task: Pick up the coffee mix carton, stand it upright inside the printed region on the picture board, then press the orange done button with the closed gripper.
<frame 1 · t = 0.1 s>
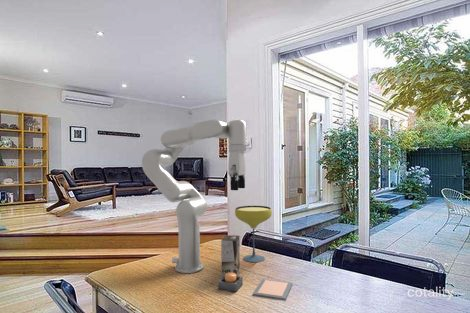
hand: (238, 189, 128), 37 cm above the table, tool pointing down, fingers open, 9 cm apart
done button: (230, 278, 115), point 3 cm above the table, slide at 0.0 cm
picture board: (273, 289, 112), on the table
coffee box: (231, 276, 127), on the table
button housing: (230, 287, 115), on the table
cocktail glass: (253, 259, 148), on the table
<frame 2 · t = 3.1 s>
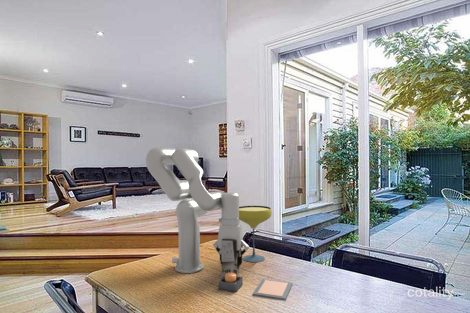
hand: (231, 263, 127), 5 cm above the table, tool pointing down, fingers closed on coffee box, 7 cm apart
coffee box: (231, 276, 127), on the table, touching gripper
everything else where it was.
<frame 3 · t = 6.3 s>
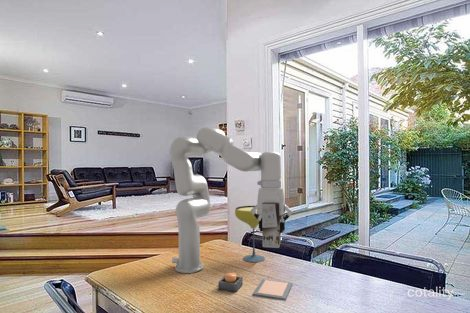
hand: (271, 231, 113), 22 cm above the table, tool pointing down, fingers closed on coffee box, 7 cm apart
coffee box: (272, 245, 113), point 17 cm above the table, touching gripper
everything else where it was.
when the fingers open (7 cm above the table, at t = 9.6 s): coffee box drops 1 cm, resting on picture board.
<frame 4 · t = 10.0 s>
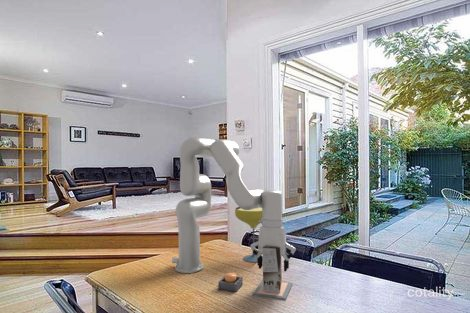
hand: (272, 268, 112), 8 cm above the table, tool pointing down, fingers open, 9 cm apart
coffee box: (272, 288, 112), point 1 cm above the table, touching picture board
everything else where it was.
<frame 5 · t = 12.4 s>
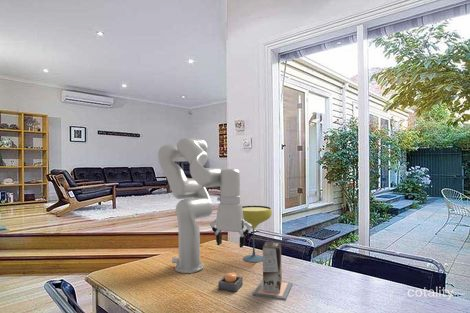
hand: (230, 245, 115), 16 cm above the table, tool pointing down, fingers open, 8 cm apart
nothing on the table moved.
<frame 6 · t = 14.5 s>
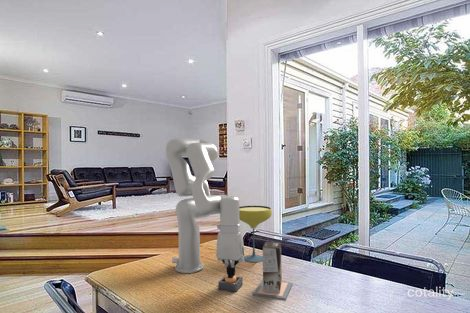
hand: (231, 276, 115), 4 cm above the table, tool pointing down, fingers closed
done button: (230, 280, 115), point 3 cm above the table, slide at 0.7 cm, touching gripper
everything else where it was.
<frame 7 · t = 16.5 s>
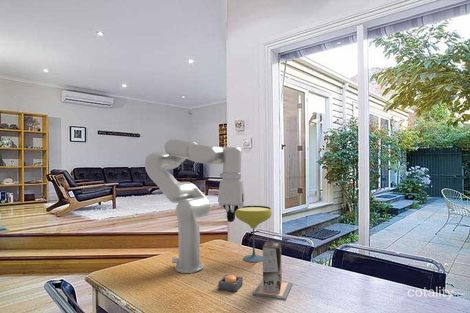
hand: (230, 221, 124), 24 cm above the table, tool pointing down, fingers closed
done button: (230, 281, 115), point 2 cm above the table, slide at 1.0 cm
everything else where it was.
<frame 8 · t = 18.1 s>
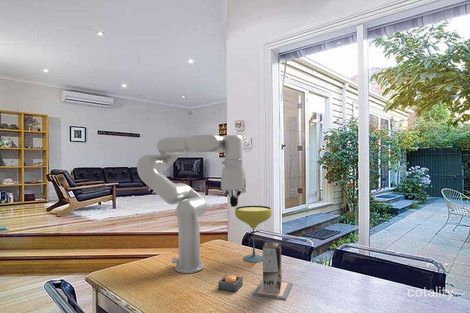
hand: (234, 206, 129), 29 cm above the table, tool pointing down, fingers closed
nothing on the table moved.
at the end: coffee box 0.2 cm off-centre on the picture board, point 0.6 cm above the picture board's base; coffee box tilted 0°; done button slide at 1.0 cm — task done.
